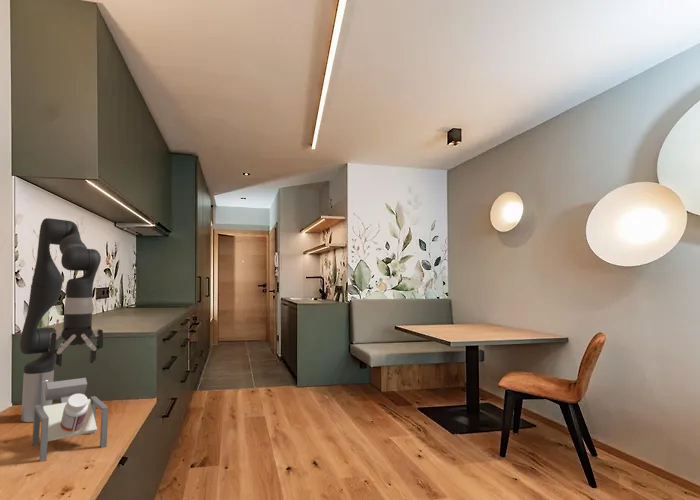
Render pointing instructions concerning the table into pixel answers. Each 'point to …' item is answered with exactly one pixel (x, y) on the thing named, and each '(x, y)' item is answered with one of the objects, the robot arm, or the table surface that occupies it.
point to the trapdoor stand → (41, 414)
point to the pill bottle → (74, 413)
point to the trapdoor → (55, 411)
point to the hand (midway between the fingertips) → (75, 364)
